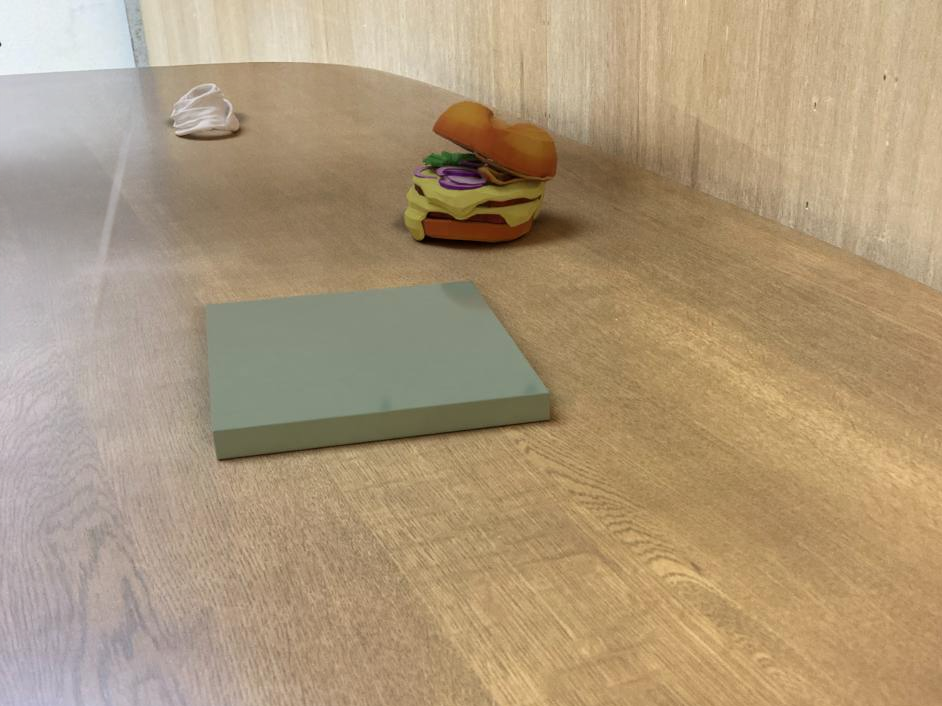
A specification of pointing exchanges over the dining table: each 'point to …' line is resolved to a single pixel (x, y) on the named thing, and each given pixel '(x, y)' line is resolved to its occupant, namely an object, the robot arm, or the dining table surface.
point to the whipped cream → (203, 111)
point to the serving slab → (363, 369)
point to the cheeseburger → (481, 178)
